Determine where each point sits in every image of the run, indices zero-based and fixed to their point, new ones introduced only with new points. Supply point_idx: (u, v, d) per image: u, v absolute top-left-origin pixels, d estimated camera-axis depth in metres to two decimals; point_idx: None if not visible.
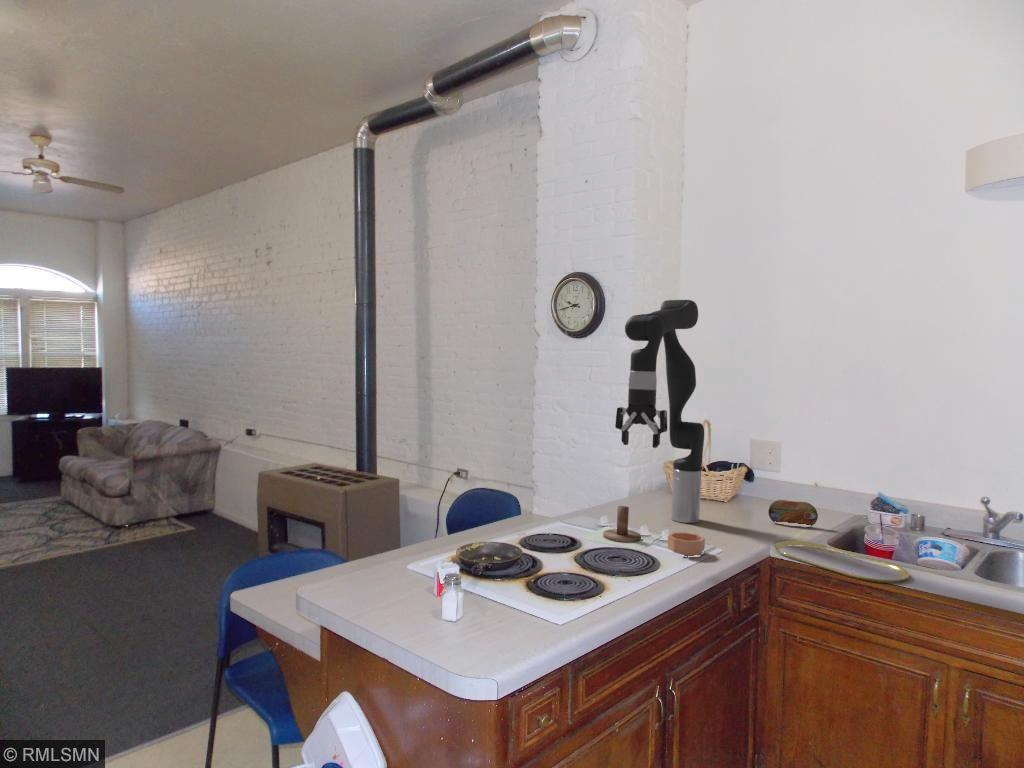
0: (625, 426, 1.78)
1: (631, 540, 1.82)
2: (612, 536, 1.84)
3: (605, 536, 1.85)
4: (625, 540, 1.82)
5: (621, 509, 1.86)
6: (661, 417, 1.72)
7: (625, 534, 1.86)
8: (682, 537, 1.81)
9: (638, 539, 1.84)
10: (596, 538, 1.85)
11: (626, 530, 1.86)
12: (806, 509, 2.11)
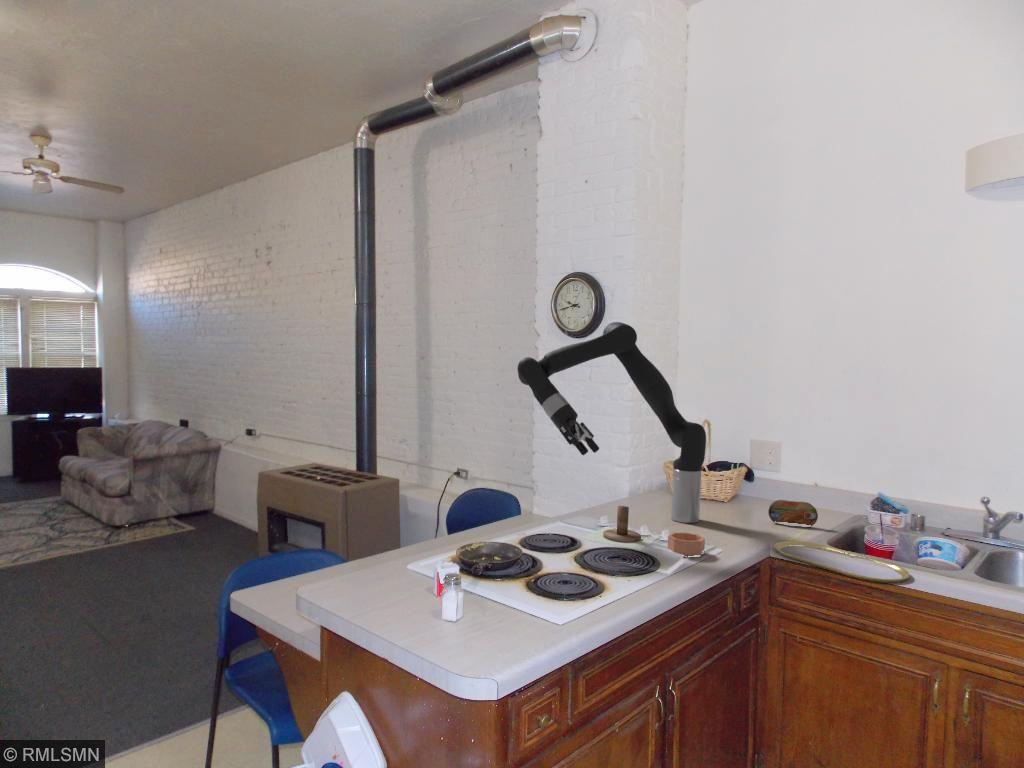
0: None
1: (631, 540, 1.82)
2: (612, 536, 1.84)
3: (605, 536, 1.85)
4: (625, 540, 1.82)
5: (621, 509, 1.86)
6: None
7: (625, 534, 1.86)
8: (682, 537, 1.81)
9: (638, 539, 1.84)
10: (596, 538, 1.85)
11: (626, 530, 1.86)
12: (806, 509, 2.11)
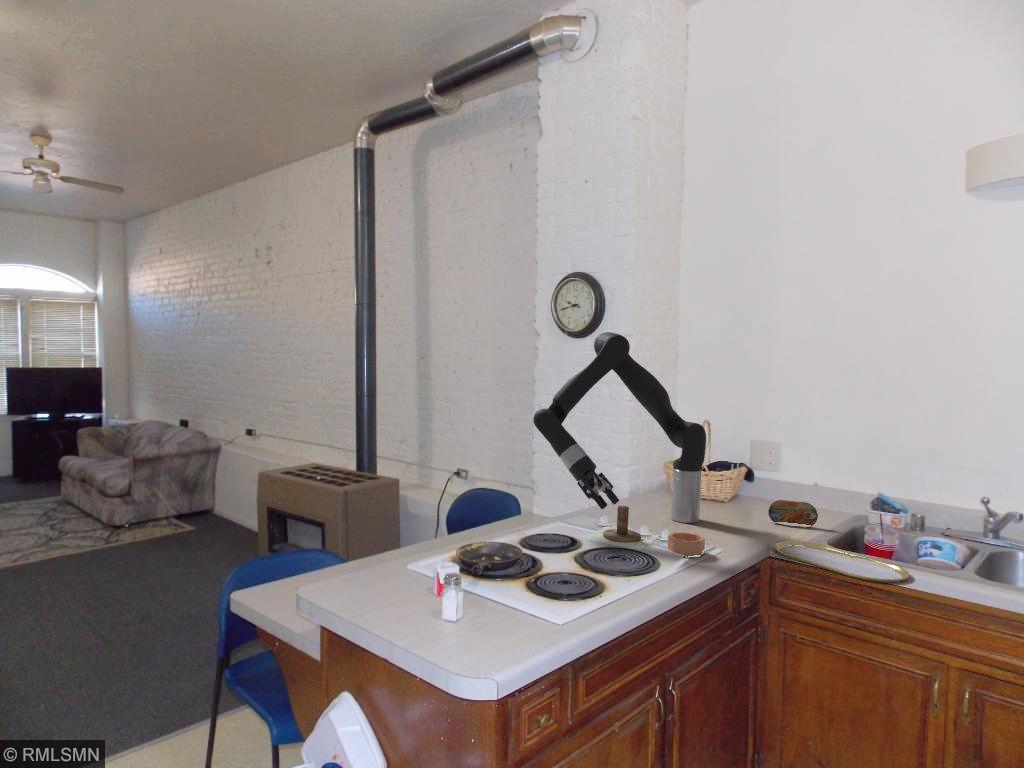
0: None
1: (631, 540, 1.82)
2: (612, 536, 1.84)
3: (605, 536, 1.85)
4: (626, 540, 1.82)
5: (621, 509, 1.85)
6: None
7: (625, 534, 1.86)
8: (682, 537, 1.81)
9: (638, 539, 1.84)
10: (596, 538, 1.85)
11: (626, 530, 1.86)
12: (806, 509, 2.11)
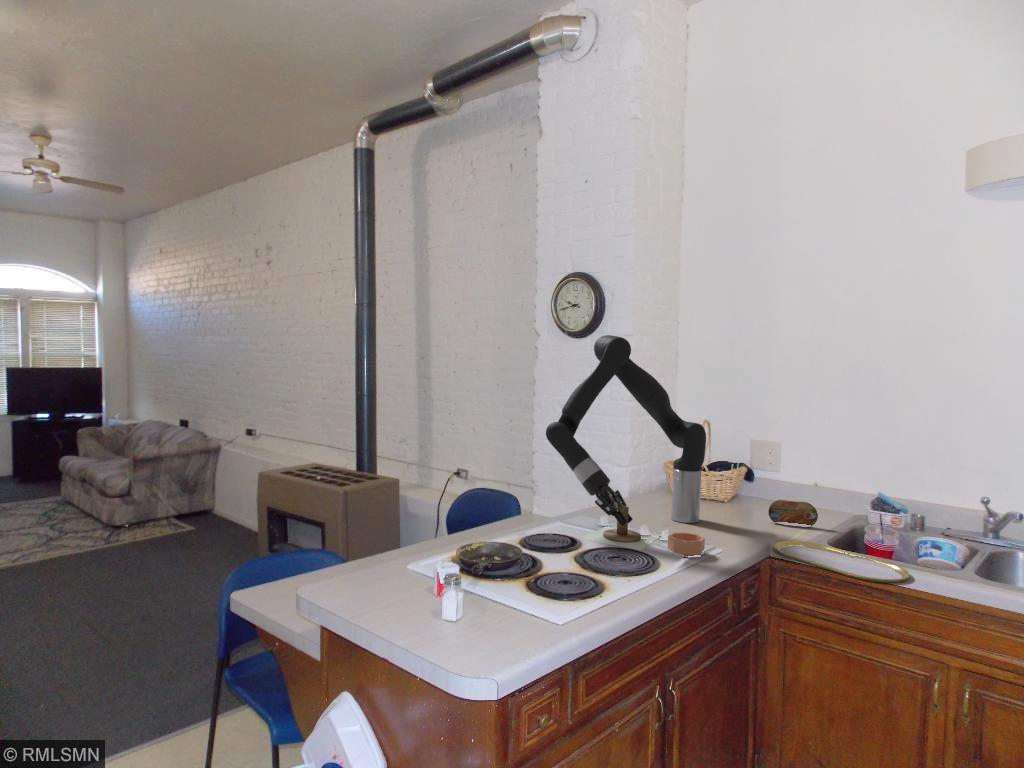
0: None
1: (631, 540, 1.82)
2: (612, 536, 1.84)
3: (605, 536, 1.85)
4: (626, 539, 1.82)
5: (621, 509, 1.86)
6: None
7: (625, 534, 1.86)
8: (682, 537, 1.81)
9: (638, 539, 1.84)
10: (596, 538, 1.85)
11: (626, 530, 1.86)
12: (806, 509, 2.11)
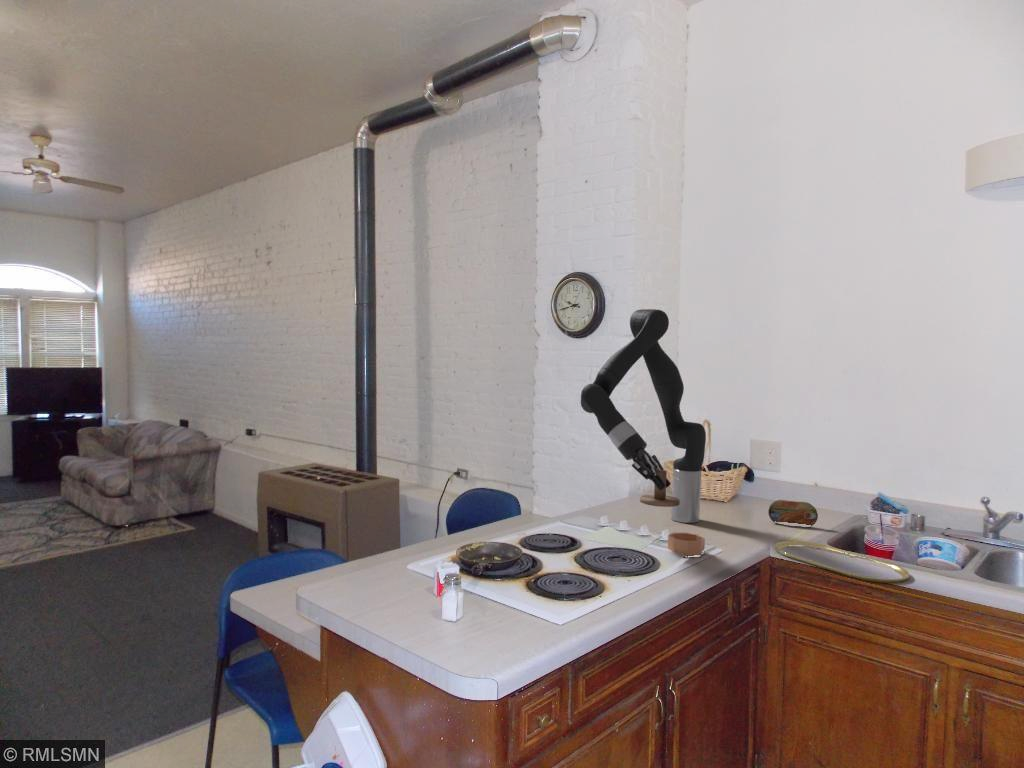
0: None
1: (670, 504, 1.76)
2: (650, 500, 1.78)
3: (642, 501, 1.79)
4: (664, 504, 1.76)
5: (658, 472, 1.79)
6: None
7: (663, 499, 1.80)
8: (682, 537, 1.81)
9: (677, 503, 1.77)
10: (596, 538, 1.85)
11: (664, 494, 1.80)
12: (806, 509, 2.11)
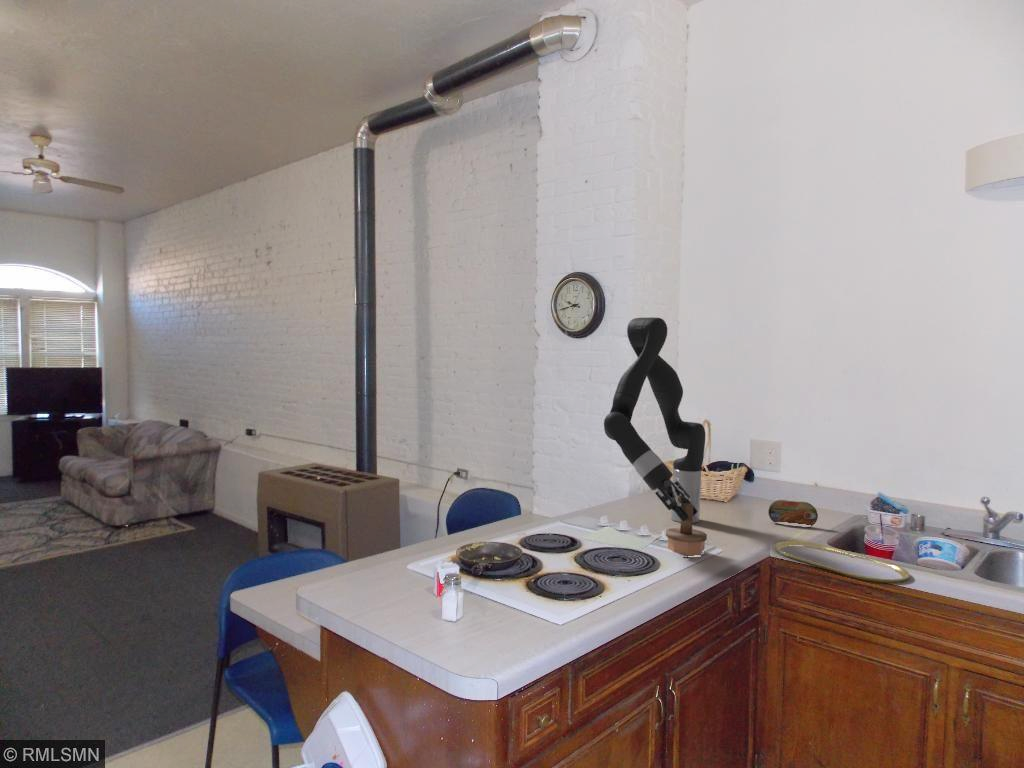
0: None
1: (698, 539, 1.72)
2: (677, 535, 1.74)
3: (669, 535, 1.75)
4: (692, 539, 1.71)
5: (685, 506, 1.75)
6: None
7: (690, 533, 1.75)
8: None
9: (704, 538, 1.73)
10: (596, 538, 1.85)
11: (691, 529, 1.76)
12: (806, 509, 2.11)
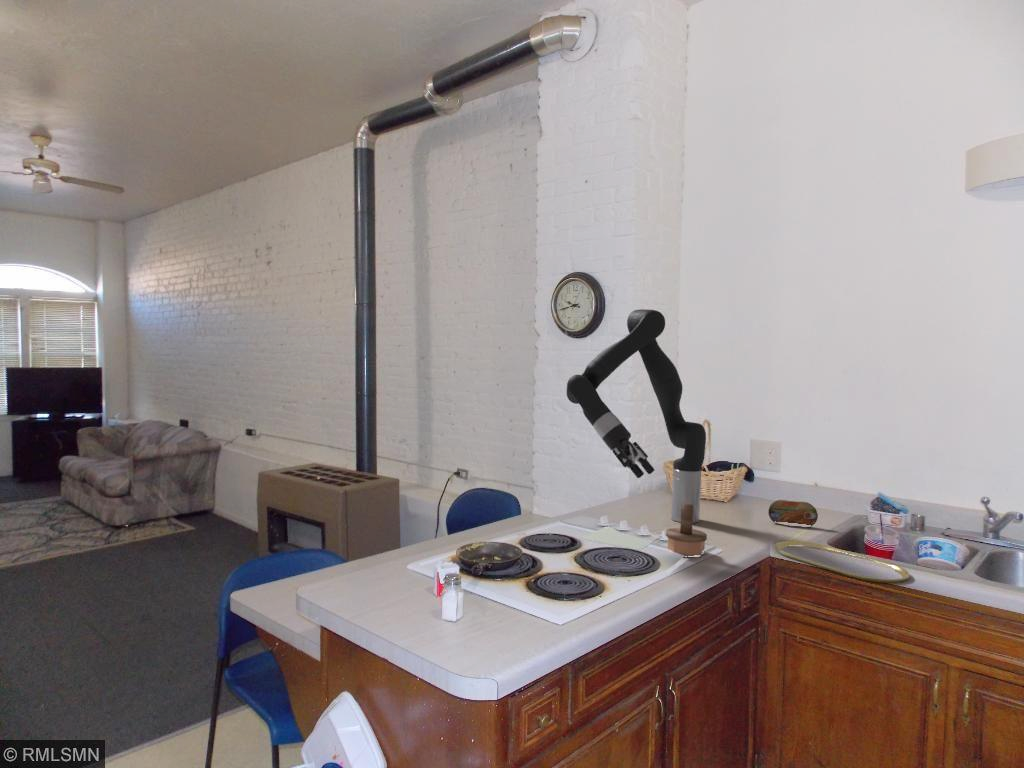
0: None
1: (698, 539, 1.72)
2: (677, 535, 1.74)
3: (669, 535, 1.75)
4: (692, 539, 1.71)
5: (685, 506, 1.75)
6: None
7: (690, 533, 1.75)
8: None
9: (704, 538, 1.73)
10: (596, 538, 1.85)
11: (691, 529, 1.76)
12: (806, 509, 2.11)
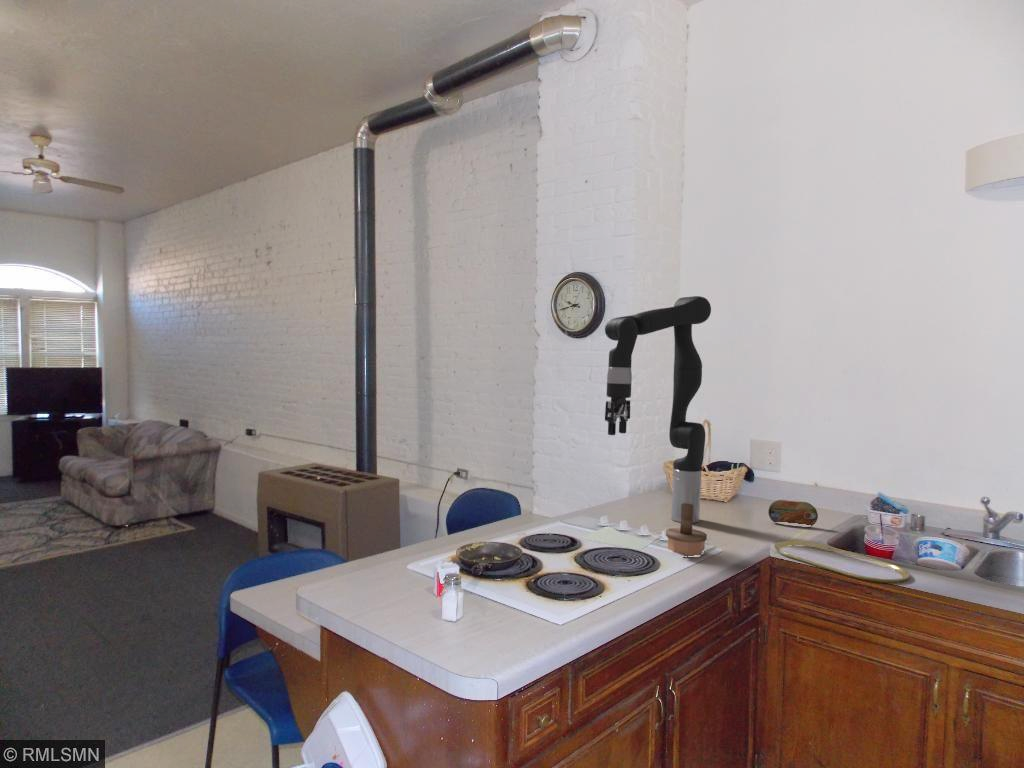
0: None
1: (698, 539, 1.72)
2: (677, 535, 1.74)
3: (669, 535, 1.75)
4: (692, 539, 1.71)
5: (685, 506, 1.75)
6: None
7: (690, 533, 1.75)
8: None
9: (704, 538, 1.73)
10: (596, 538, 1.85)
11: (691, 529, 1.76)
12: (806, 509, 2.11)
